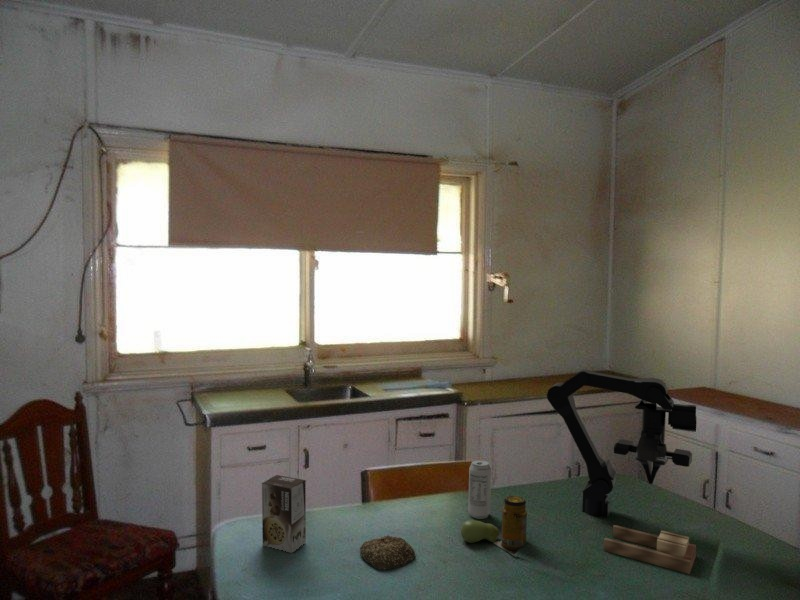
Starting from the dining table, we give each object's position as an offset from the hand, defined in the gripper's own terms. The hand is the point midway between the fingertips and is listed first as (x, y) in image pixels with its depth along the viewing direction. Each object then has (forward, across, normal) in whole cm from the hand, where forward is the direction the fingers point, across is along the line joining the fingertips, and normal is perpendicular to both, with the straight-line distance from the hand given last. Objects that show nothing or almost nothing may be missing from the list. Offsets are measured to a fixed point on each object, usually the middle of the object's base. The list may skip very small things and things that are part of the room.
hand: (650, 483), depth 160 cm
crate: (+11, +9, -18) cm, 23 cm away
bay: (+12, +4, -18) cm, 22 cm away
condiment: (+12, -25, -32) cm, 42 cm away
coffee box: (+12, -72, -64) cm, 98 cm away
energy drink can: (+12, -41, -20) cm, 47 cm away
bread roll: (+13, -48, -54) cm, 73 cm away
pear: (+12, -34, -34) cm, 49 cm away
